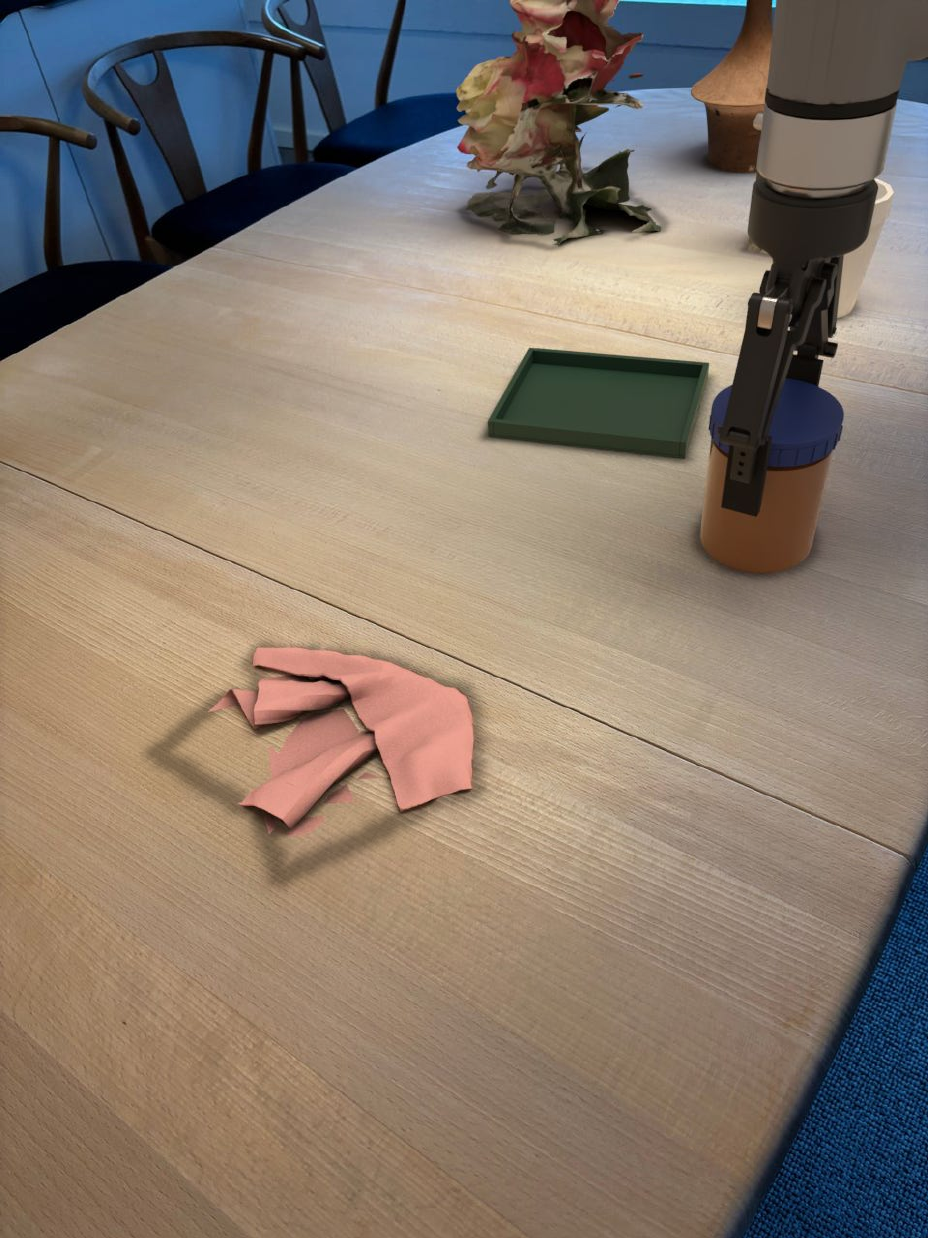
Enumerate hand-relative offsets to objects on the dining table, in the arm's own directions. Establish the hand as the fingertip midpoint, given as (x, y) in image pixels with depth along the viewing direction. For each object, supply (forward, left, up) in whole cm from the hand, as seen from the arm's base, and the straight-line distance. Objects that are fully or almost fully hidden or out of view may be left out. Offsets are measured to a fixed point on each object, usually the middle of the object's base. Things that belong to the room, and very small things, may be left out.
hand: (767, 468), depth 74 cm
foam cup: (-3, -44, -7) cm, 45 cm away
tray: (+17, -18, -7) cm, 26 cm away
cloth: (+27, +29, -7) cm, 40 cm away
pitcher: (+11, -92, -7) cm, 93 cm away
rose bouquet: (+35, -68, -7) cm, 77 cm away
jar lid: (0, 0, +5) cm, 5 cm away
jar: (0, 0, -7) cm, 7 cm away
